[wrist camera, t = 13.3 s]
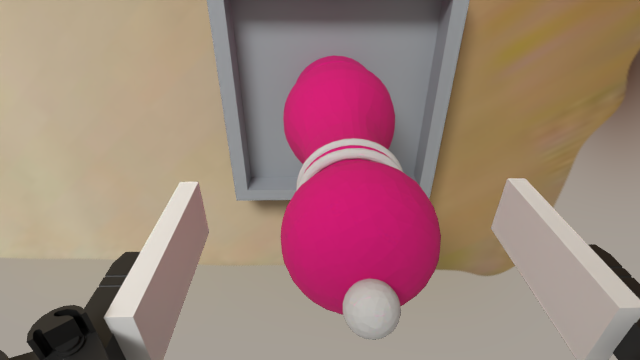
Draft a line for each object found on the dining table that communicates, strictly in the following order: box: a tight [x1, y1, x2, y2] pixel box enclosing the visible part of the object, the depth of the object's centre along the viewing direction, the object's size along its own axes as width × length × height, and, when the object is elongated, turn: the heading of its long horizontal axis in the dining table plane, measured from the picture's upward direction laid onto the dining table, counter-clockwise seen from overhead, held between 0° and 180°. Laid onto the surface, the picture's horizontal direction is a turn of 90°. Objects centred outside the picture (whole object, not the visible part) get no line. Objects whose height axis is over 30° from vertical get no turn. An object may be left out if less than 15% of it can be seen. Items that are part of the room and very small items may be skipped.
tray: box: [207, 0, 469, 200], centre depth 27 cm, size 16×16×3 cm
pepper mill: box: [281, 55, 441, 340], centre depth 19 cm, size 7×7×20 cm
